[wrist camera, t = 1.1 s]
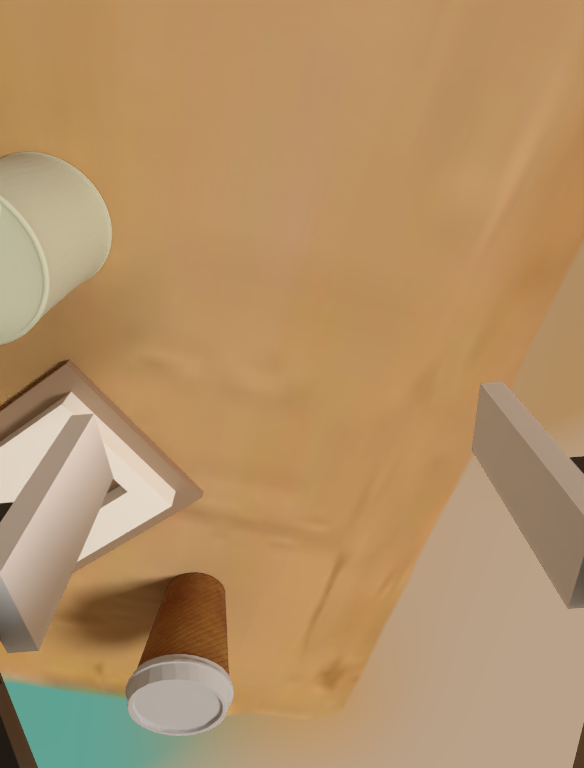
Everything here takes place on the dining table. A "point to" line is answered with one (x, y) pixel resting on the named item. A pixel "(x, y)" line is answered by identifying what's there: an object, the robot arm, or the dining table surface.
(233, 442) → the dining table surface
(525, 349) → the dining table surface
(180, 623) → the disposable coffee cup
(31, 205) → the can
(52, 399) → the socket board
